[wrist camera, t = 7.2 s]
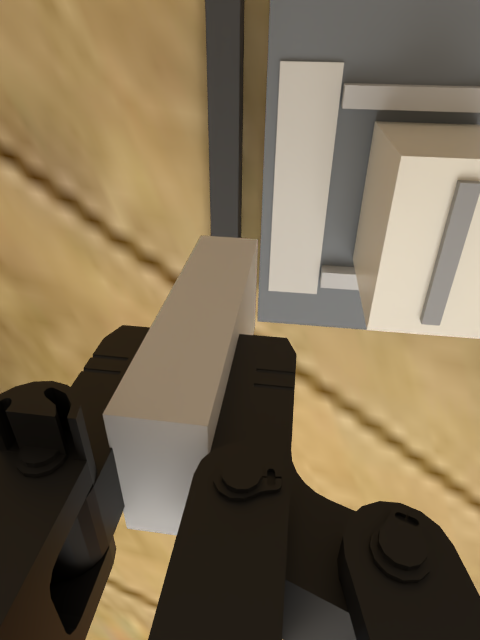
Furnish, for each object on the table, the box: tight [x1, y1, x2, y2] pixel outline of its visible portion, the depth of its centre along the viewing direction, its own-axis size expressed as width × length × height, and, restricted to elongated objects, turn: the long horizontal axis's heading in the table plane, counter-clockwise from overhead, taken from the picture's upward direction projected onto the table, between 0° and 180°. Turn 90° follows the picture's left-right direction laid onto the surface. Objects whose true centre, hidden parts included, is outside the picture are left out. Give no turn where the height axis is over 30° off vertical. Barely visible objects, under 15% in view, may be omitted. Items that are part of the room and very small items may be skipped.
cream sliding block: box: [353, 121, 480, 339], centre depth 17 cm, size 4×6×6 cm, turn 179°
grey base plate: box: [205, 0, 244, 238], centre depth 20 cm, size 23×18×1 cm
